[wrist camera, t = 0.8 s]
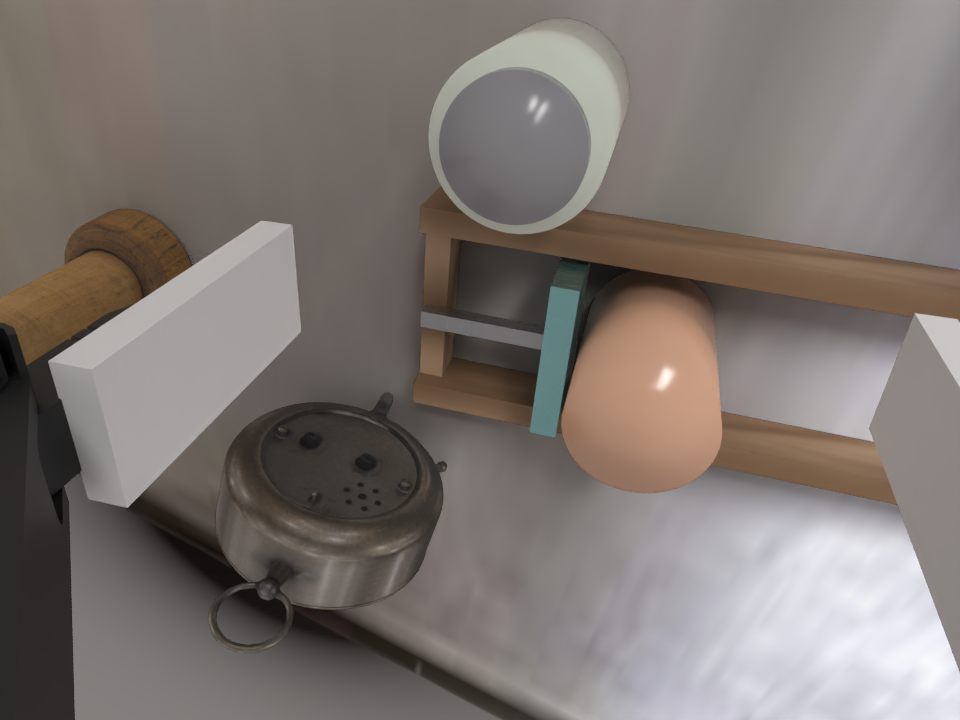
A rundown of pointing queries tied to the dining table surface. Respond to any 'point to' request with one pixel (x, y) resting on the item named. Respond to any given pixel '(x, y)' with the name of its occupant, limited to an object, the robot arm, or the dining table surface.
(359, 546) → the alarm clock
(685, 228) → the lane
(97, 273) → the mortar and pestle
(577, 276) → the pusher
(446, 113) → the jar
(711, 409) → the jar in lane
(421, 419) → the dining table surface
